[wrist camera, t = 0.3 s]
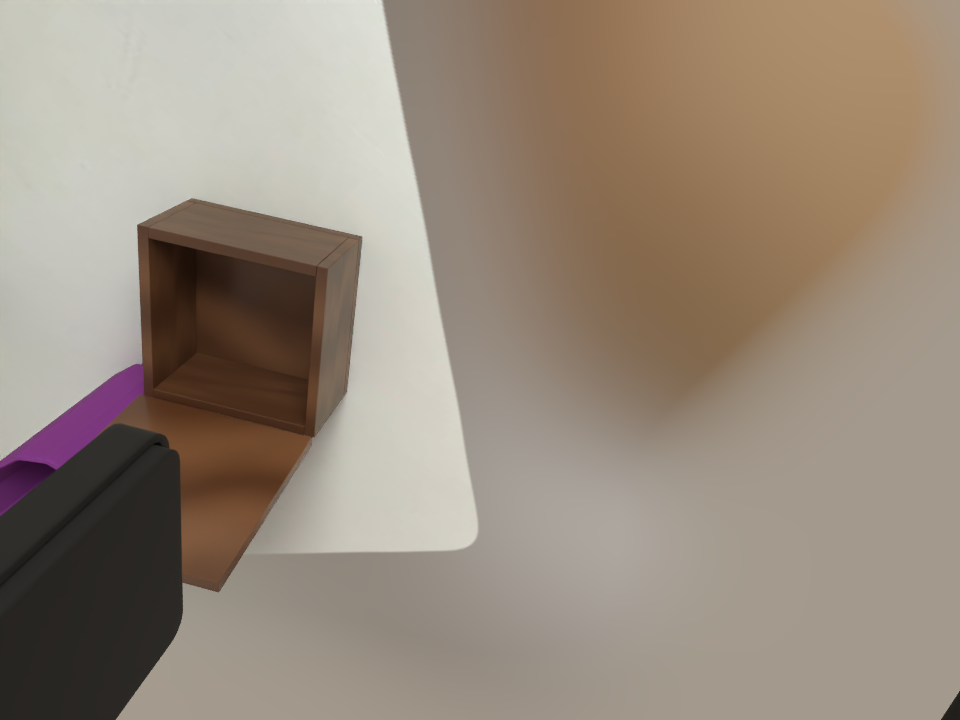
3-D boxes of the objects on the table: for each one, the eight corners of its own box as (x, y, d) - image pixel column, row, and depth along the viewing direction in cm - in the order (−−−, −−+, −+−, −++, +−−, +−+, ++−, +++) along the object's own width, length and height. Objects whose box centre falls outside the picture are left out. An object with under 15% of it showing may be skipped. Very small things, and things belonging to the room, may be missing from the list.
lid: (3, 525, 46) (5, 535, 47) (218, 583, 45) (219, 592, 45) (139, 393, 58) (140, 402, 59) (312, 437, 57) (311, 445, 58)
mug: (183, 353, 65) (68, 448, 52) (250, 504, 71) (161, 623, 58) (94, 369, 68) (-38, 463, 55) (165, 513, 74) (61, 630, 61)
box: (191, 198, 59) (136, 224, 53) (362, 236, 58) (328, 268, 51) (192, 354, 65) (143, 395, 59) (346, 392, 64) (314, 438, 58)
